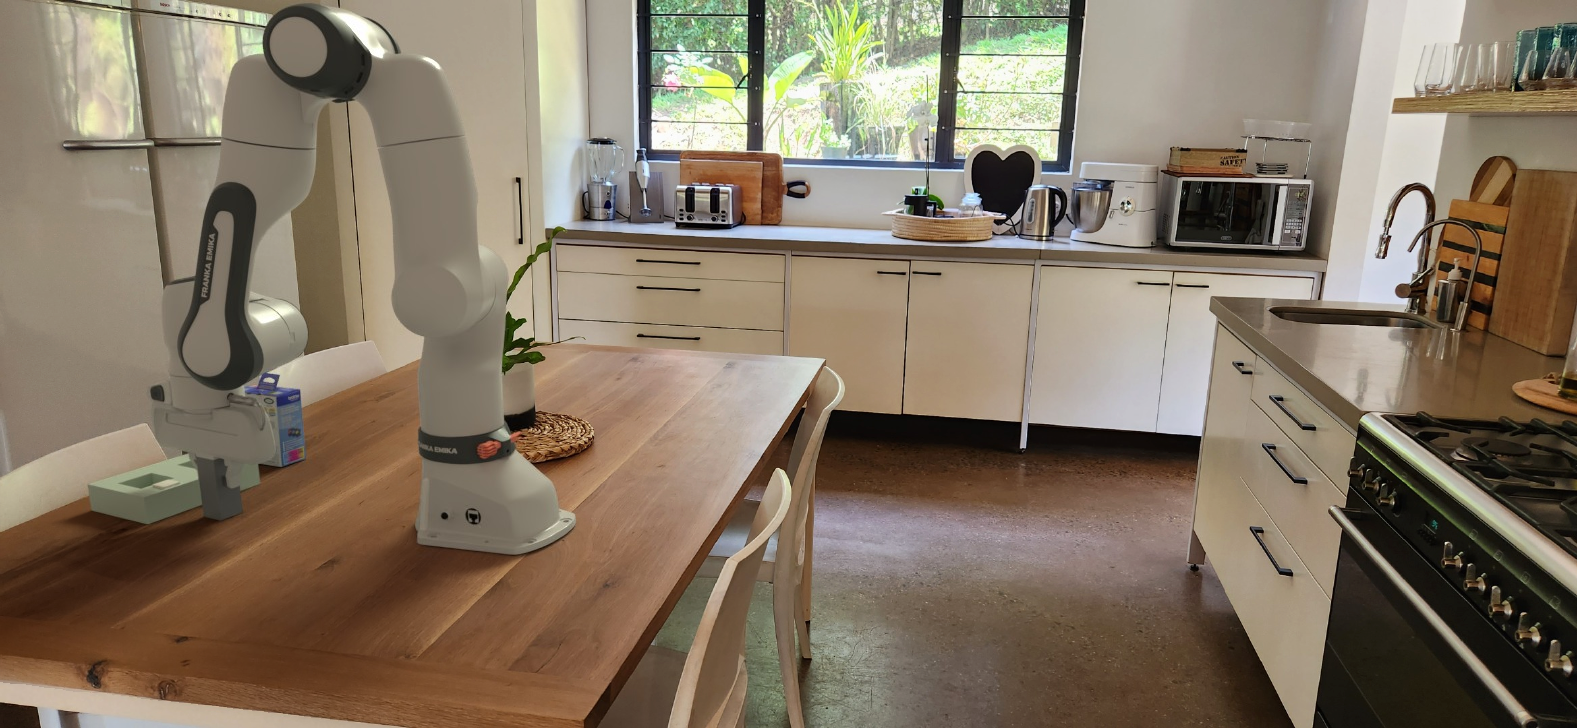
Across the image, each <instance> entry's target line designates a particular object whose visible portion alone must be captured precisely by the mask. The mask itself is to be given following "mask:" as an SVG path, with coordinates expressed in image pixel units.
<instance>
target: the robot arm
mask: <svg viewBox="0 0 1577 728" xmlns="http://www.w3.org/2000/svg"><path fill="white" fill-rule="evenodd" d="M261 44H262V52H263V53H254V54H249V55H247V56H243V57H241V58H240V59H238V60H237V61H236V62H235V63H234V64H233V66H232V68H231V70H230V73H229V74H230V75H229V77H228V81H227V87H226V91H225V96H224V101H223V107H222V108H223V109H222V116H221V117H222V119H221V135H220V136H221V137H220V152H219V153H220V154H219V161H218V168H217V174H216V177H215V178H216V179H215V182H214V185H213V188H212V191H211V193H210V195H209V197H208V201H207V204H206V207H205V210H204V214H203V220H202V224H201V232H200V239H199V244H198V245H199V246H198V254H197V261H196V267H195V275H191V276H187V277H183V278H179V279H174V280H172V281H170V282H169V283H168V284H167V285H166V286H165V287H164V289H163V292H162V297H161V321H162V322H161V323H162V331H163V332H162V333H163V339H164V340H163V341H164V345H165V346H166V348H167V351H168V352H169V353H168V354H169V365H168V378H169V379H168V380H167V379H166V380H163V381H159V382H157V383H152V384H150V385H148V386H146V395H147V399H148V400H149V401H152V402H151V404H150V415H151V416H150V418H151V419H150V420H151V424H152V432H153V435H154V439H155V440H156V442H157V444H159V447H162V448H166V449H171V450H176V451H181V452H187V453H189V459H190V461H191V462H192V464H193V466H194V467H195V469H196V470H197V474H198V467H197V459H196V452H198V453H203V454H208V455H213V456H214V457H215V458H220V459H224V464H225V466H228V468H227V472H226V475H223V476H222V481H223V483H222V485H223V486H224V487H228V488H235V487H238V486H240V484H241V480H240V473H241V471H242V469H243V466H244V464H250V465H256V464H258V465H260V464H259V463H262V462H265V461H268V460H271V459H272V458H273V457H274V455H275V452H276V448H275V442H274V436H273V432H272V427H271V423H270V420H269V417H268V415H267V413H266V411H265V409H264V407H263V406H261V404H260V403H259V402H257V399H256V398H254V397H245V389H244V387H245V385H246V384H248V383H250V382H251V381H253V380H254V379H256V378H257V377H259V376H260V377H261V376H262V374H264V373H269V372H272V371H274V370H276V369H278V368H280V367H282V366H284V365H286V364H288V363H290V362H292V361H294V360H295V359H297V358H299V357H301V355H302V354H303V353H304V352H305V350H306V349H307V347H308V343H309V338H310V333H309V332H310V331H309V326H308V322H307V320H306V318H305V316H304V315H303V313H302V311H301V310H300V309H299V308H298V307H296V306H295V304H293V303H291V302H289V301H288V300H286V299H283V298H274V297H270V296H268V295H263V294H261V293H258V292H254V291H252V284H253V276H254V269H255V262H256V254H257V251H258V247H259V246H260V244H261V241H262V240H263V239H264V237H265V235H266V234H267V232H269V230H270V229H272V227H273V226H274V225H275V224H277V223H278V222H279V221H280V220H281V219H282V218H283V217H285V216H286V215H287V214H289V213H290V212H292V211H293V210H295V209H296V208H297V207H298V206H299V205H301V204H302V203H303V202H304V201H305V200H306V199H307V197H308V196H309V194H310V192H311V190H312V185H313V181H314V178H315V177H314V176H315V172H316V165H317V143H318V142H317V140H318V139H317V138H318V135H317V134H318V122H319V117H320V114H321V111H322V110H323V108H324V107H325V106H326V105H328V104H329V103H330V102H332V103H335V104H341V103H348V102H354V101H355V102H358V104H360V105H361V106H362V107H363V108H364V109H365V111H366V112H367V115H368V116H369V120H370V121H371V122H370V123H371V125H372V129H373V133H374V138H375V143H376V146H377V147H376V148H377V151H378V155H379V160H380V164H381V170H382V174H383V178H384V182H385V188H386V191H387V195H388V200H389V206H390V212H391V223H392V224H391V225H392V244H393V245H392V248H393V264H394V265H393V266H394V281H393V286H392V289H391V296H390V297H391V299H390V301H391V306H392V310H393V313H394V315H395V317H396V318H397V319H398V321H399V322H400V324H402V326H403V327H404V328H406V329H407V330H408V331H410V332H411V333H413V334H415V335H418V336H420V337H423V344H422V345H423V346H422V350H421V351H422V352H421V356H420V357H421V358H420V362H419V365H418V368H417V375H416V377H417V393H418V406H419V407H418V409H419V419H420V427H418V429H417V445H418V454H419V455H420V456H421V459H422V460H421V462H422V463H421V465H422V466H421V467H422V469H421V482H420V497H419V505H418V510H417V511H418V512H417V515H416V516H417V517H416V520H415V524H414V527H415V529H416V531H417V535H416V537H417V538H416V543H417V544H418V545H423V546H433V547H439V548H440V547H442V548H450V549H459V550H468V551H478V552H483V553H484V552H486V553H493V554H494V553H495V554H503V555H513V556H514V555H521V554H526V553H529V552H532V551H535V550H538V549H540V548H543V547H546V546H547V545H550V544H551V543H554V542H555V541H557V540H558V539H560V538H562V537H564V536H565V535H566V534H568V533H569V532H570V531H571V530H572V529H573V528H574V527H575V525H576V524H577V519H576V514H575V513H574V512H571V511H568V510H564V509H562V508H560V507H559V506H560V505H559V500H558V499H559V497H558V494H557V490H556V487H555V484H554V483H553V481H552V480H551V479H550V478H548V477H547V476H546V475H545V474H544V473H542V472H541V471H540V470H539V469H538V468H537V467H535V466H534V464H532V463H531V462H530V461H529V460H528V459H527V458H525V457H524V456H523V455H522V454H521V453H520V452H518V450H517V445H516V443H515V442H517V441H519V440H521V439H522V437H518V436H520V434H521V433H522V432H521V431H517V432H515V433H512V431H511V430H510V427H509V426H508V425H509V424H508V423H507V422H506V420H505V416H504V415H505V414H504V394H503V393H504V392H503V391H504V390H503V376H502V375H503V372H502V371H503V368H502V367H503V355H504V354H503V352H504V344H505V334H506V333H505V332H506V321H507V320H506V319H507V318H506V316H507V296H508V295H507V293H508V288H509V271H508V268H507V264H506V263H505V261H504V260H503V258H502V257H501V256H500V255H499V254H498V253H497V252H496V251H494V250H493V249H491V248H489V247H488V246H486V245H482V244H479V237H478V216H477V215H478V203H479V192H478V188H477V187H478V186H477V183H476V178H475V174H474V169H473V164H472V161H471V155H470V150H469V146H468V141H467V137H466V132H465V128H464V123H463V120H462V117H461V113H460V110H459V106H458V103H457V100H456V97H455V95H454V92H453V90H452V87H451V84H450V82H449V79H448V77H447V75H446V72H445V70H444V69H443V67H442V66H441V65H440V64H439V63H438V62H437V61H436V60H434V59H433V58H431V57H428V56H426V55H423V54H419V53H412V52H404V53H402V52H401V48H400V46H399V43H398V41H397V40H396V38H395V37H394V36H393V35H392V33H391V32H390V31H389V30H388V29H387V28H386V27H384V26H383V25H382V24H380V22H378V21H376V20H374V19H372V18H369V17H365V16H362V15H359V14H356V13H354V12H353V11H351V10H349V9H345V8H341V7H337V6H330V5H323V4H322V5H321V4H317V3H311V2H304V3H303V2H302V3H297V4H293V5H289V6H286V7H283V8H281V9H280V10H278V11H277V12H276V13H275V14H274V15H273V16H272V17H271V18H270V19H269V21H268V22H267V24H266V26H265V27H264V30H263V35H262V43H261ZM255 404H256V405H255ZM198 480H199V475H198Z"/></svg>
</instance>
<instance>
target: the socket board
mask: <svg viewBox="0 0 1577 728" xmlns="http://www.w3.org/2000/svg"><path fill="white" fill-rule="evenodd" d="M240 480H241V484H240V491H244V490H247V489H250V488H253V487H256V486H258V485H261V479H260V470H259V464H256V465H250V464H244V466H243V469H242V471H241V473H240ZM87 490H88V497H89V504H90V509H91V511H93V512H97V513H100V514H105V515H109V516H112V517H116V518H120V519H124V520H129V521H133V522H138V523H141V524H144V525H150V524H152V523H155V522H158V521H161V520H164V519H166V518H169V517H172V516H176V515H178V514H181V513H183V512H186V511H188V510H192V509H195V508H198V507H200V506H202V499H201V491H200V483H199V480H198V474H197V470H196V469H195V467H194V466H193V464H192V462H191V461H190V459H189V452H187V453H185V454H182V455H178V456H176V457H173V458H169V459H165V460H162V461H159V462H157V463H153V464H148V465H146V466H143V467H139V468H136V469H133V470H129V471H126V472H123V473H120V474H115V475H113V476H110V477H107V478H103V479H100V480H95V481H93V482H91V483H87Z"/></svg>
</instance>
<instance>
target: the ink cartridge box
mask: <svg viewBox="0 0 1577 728" xmlns="http://www.w3.org/2000/svg"><path fill="white" fill-rule="evenodd" d="M280 376H281V374H277V373H269V372H267V373H264V374H262V375H260V379H259V381H258V384H251V385H247V386H244V389H245V397H254V398H256V399H257V402H259V403H260V404H261V406H263V407H264V409H265V411H266V413H267V415H268V417H269V420H270V423H271V427H272V432H273V436H274V442H275V448H276V452H275V455H274V457H273V458H272V459H271V460H268V461H265V462H262V463H259V464H258V465H260V464H261V465H267V466H271V467H279V468H283V467H285V466H286V467H287V466H289V465H291V464H295V463H299V462H301V461H304V460H307V454H306V442H305V432H304V431H305V430H304V419H303V418H304V417H303V407H302V406H303V404H302V397H301V394H302V393H301V389H299V388H293V387H292V388H291V387H283V386H278V384H279V380H280ZM268 378H271V379H272V380H274V381H273V382H269V381H264V380H265V379H268ZM255 405H256V404H255Z"/></svg>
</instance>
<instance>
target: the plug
mask: <svg viewBox="0 0 1577 728" xmlns="http://www.w3.org/2000/svg"><path fill="white" fill-rule="evenodd" d="M196 459H197V467H198V475H199V483H200V491H201V499H202V505H201V507H202V512H203V518H209V519H212V520H215V521H216V520H217V521H223V520H228V519H229V518H231V517H234V516H237V515H240V514H243V513H244V512H243V503H242V493H241V491H240V486H238V487H235V488H228V487H224V486H223V485H222V483H223V481H222V476H223V475H226V472H227V468H228V466H225V464H224V459H220V458H215V457H214V456H213V455H208V454H203V453H198V452H196Z"/></svg>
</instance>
